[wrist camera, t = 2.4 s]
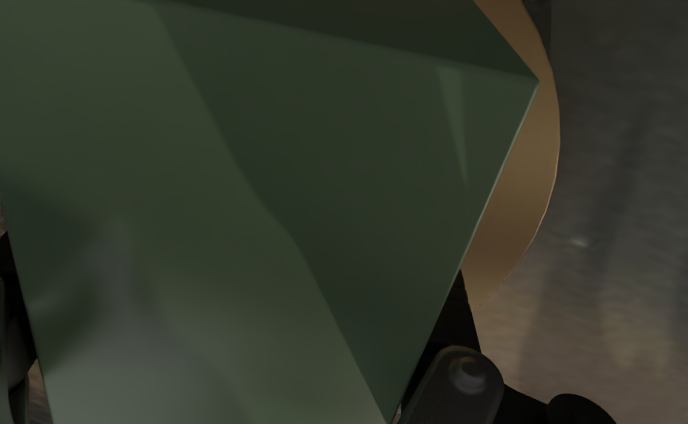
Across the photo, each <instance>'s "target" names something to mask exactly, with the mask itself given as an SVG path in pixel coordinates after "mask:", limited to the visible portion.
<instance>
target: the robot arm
mask: <svg viewBox="0 0 688 424" xmlns="http://www.w3.org/2000/svg"><path fill="white" fill-rule="evenodd" d="M36 359H37V354H36V350H35V346H34V342H33V338H32V333H31V329H30V325H29V321H28V316H27V312H26V308H25V304H24V300H23V295H22V291H21V287H20V283H19V278H18V274H17V270H16V266H15V262H14V257H13V253H12V249H11V245H10V240H9V236H8V232H7V231H6V232H5V233H4V234H3V236H2V237H1V238H0V424H30V416H29V377H28V373H27V372H28V371H29V369H30V368H31V366H32V365H33V363H34V362H35V360H36ZM397 413H400V414H401V417H400V419H399V421H398V423H397V424H616V422H615V421H614V420H613V419H612V417H611V416H610V415H609V414H608V413H607V412H606V411H605V410H603V409H602V408H601V407H600V406H598V405H597V404H596V403H594V402H592V401H591V400H589V399H587V398H584V397H582V396H579V395H575V394H560V395H557V396H555V397H554V398H553V399H552V400H551V401H550V402H549V404H548V405H547V404H545V403H543V402H541V401H538V400H536V399H534V398H531V397H529V396H527V395H525V394H522V393H520V392H518V391H516V390H514V389H512V388H510V387H509V386H507V385H506V384H504V381H503V378H502V375H501V373H500V372H499V370H498V368H497V367H496V366H495V365H494V363H493V362H492V361H491V360H490V359H488V358H487V357H486V356H485V355H483V354H482V353H481V349H480V345H479V341H478V337H477V333H476V329H475V324H474V320H473V316H472V312H471V308H470V304H469V303H468V296H467V291H466V290H465V283H464V279H463V275H462V271H461V269H459V271H458V274H457V276H456V278H455V280H454V283H453V285H452V287H451V290H450V292H449V294H448V296H447V299H446V301H445V303H444V306H443V308H442V310H441V312H440V315H439V317H438V319H437V322H436V324H435V326H434V328H433V331H432V333H431V335H430V337H429V340H428V342H427V344H426V347H425V349H424V351H423V353H422V356H421V358H420V360H419V363H418V365H417V367H416V369H415V372H414V374H413V376H412V378H411V381H410V383H409V385H408V388H407V390H406V392H405V394H404V397H403V399H402V401H401V404H400V406H399V408H398V410H397Z"/></svg>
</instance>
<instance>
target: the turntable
mask: <svg viewBox="0 0 688 424" xmlns="http://www.w3.org/2000/svg"><path fill="white" fill-rule="evenodd" d="M474 2H475V3H476V4H477V5H478V6H479V8H480V9H481V10H482V11H483V12H484V14H485V15H486V16H487V17H488V19H489V20H490V21H491V22H492V23H493V25H494V26H495V27H496V28H497V29H498V31H499V32H500V33H501V34H502V35H503V37H504V38H505V39H506V40H507V41H508V43H509V44H510V45H511V46H512V47H513V49H514V50H515V51H516V52H517V54H518V55H519V56H520V57H521V58H522V60H523V61H524V62H525V63H526V64H527V66H528V67H529V68H530V69H531V70H532V72H533V73H534V74H535V75H536V76H537V78H538V79H539V80H540V87H539V89H538V91H537V94H536V96H535V98H534V100H533V103H532V105H531V107H530V110H529V112H528V114H527V116H526V119H525V121H524V123H523V125H522V128H521V130H520V132H519V135H518V137H517V139H516V141H515V144H514V146H513V148H512V151H511V153H510V155H509V157H508V160H507V162H506V164H505V167H504V169H503V171H502V173H501V176H500V178H499V180H498V182H497V185H496V187H495V189H494V192H493V194H492V196H491V198H490V201H489V203H488V205H487V208H486V210H485V212H484V214H483V217H482V219H481V221H480V223H479V226H478V228H477V230H476V233H475V235H474V237H473V239H472V242H471V244H470V246H469V249H468V251H467V253H466V255H465V258H464V260H463V262H462V265H461V267H460V269H461V271H462V275H463V279H464V283H465V290H466V291H467V296H468V303H469V304H470V308H471V311H472V310H473V309H475V308H476V307H477V306H479V305H480V304H481V303H482V302H483V301H484V300H485V299H486V298H487V297H488V296H490V295H491V294H492V293H493V292H494V291H495V290H496V289H497V288H498V287H499V286H500V285H501V284H502V283H503V282H504V280H505V279H506V278H507V277H508V275H509V274H510V273H511V272H512V270H513V269H514V268H515V267H516V266H517V264H518V263H519V262H520V260H521V259H522V257H523V255H524V254H525V252H526V251H527V249H528V247H529V246H530V244H531V242H532V241H533V239H534V238H535V236H536V233H537V231H538V229H539V227H540V224H541V222H542V220H543V217H544V215H545V213H546V211H547V208H548V205H549V201H550V197H551V194H552V190H553V187H554V183H555V180H556V174H557V166H558V158H559V150H560V113H559V103H558V98H557V93H556V87H555V82H554V76H553V71H552V68H551V65H550V62H549V60H548V57H547V54H546V51H545V48H544V45H543V42H542V40H541V37H540V34H539V32H538V30H537V28H536V26H535V24H534V23H533V21H532V19H531V17H530V15H529V13H528V11H527V9H526V8H525V6H524V4H523V2H522V0H474Z"/></svg>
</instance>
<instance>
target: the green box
mask: <svg viewBox="0 0 688 424" xmlns="http://www.w3.org/2000/svg"><path fill="white" fill-rule="evenodd" d="M539 87H540V80H539V79H538V78H537V76H536V75H535V74H534V73H533V72H532V70H531V69H530V68H529V67H528V66H527V64H526V63H525V62H524V61H523V60H522V58H521V57H520V56H519V55H518V54H517V52H516V51H515V50H514V49H513V47H512V46H511V45H510V44H509V43H508V41H507V40H506V39H505V38H504V37H503V35H502V34H501V33H500V32H499V31H498V29H497V28H496V27H495V26H494V25H493V23H492V22H491V21H490V20H489V19H488V17H487V16H486V15H485V14H484V12H483V11H482V10H481V9H480V8H479V6H478V5H477V4H476V3H475V2H474V0H0V202H1V207H2V211H3V215H4V219H5V224H6V228H7V232H8V236H9V240H10V245H11V249H12V253H13V257H14V262H15V266H16V270H17V274H18V278H19V283H20V287H21V291H22V295H23V300H24V304H25V308H26V312H27V316H28V321H29V325H30V329H31V333H32V338H33V342H34V346H35V350H36V354H37V359H38V363H39V367H40V371H41V376H42V380H43V384H44V388H45V392H46V397H47V401H48V405H49V409H50V414H51V418H52V422H53V424H392V422H393V420H394V417H395V415H396V413H397V410H398V408H399V406H400V404H401V401H402V399H403V397H404V394H405V392H406V390H407V388H408V385H409V383H410V381H411V378H412V376H413V374H414V372H415V369H416V367H417V365H418V363H419V360H420V358H421V356H422V353H423V351H424V349H425V347H426V344H427V342H428V340H429V337H430V335H431V333H432V331H433V328H434V326H435V324H436V322H437V319H438V317H439V315H440V312H441V310H442V308H443V306H444V303H445V301H446V299H447V296H448V294H449V292H450V290H451V287H452V285H453V283H454V280H455V278H456V276H457V274H458V271H459V269H460V267H461V265H462V262H463V260H464V258H465V255H466V253H467V251H468V249H469V246H470V244H471V242H472V239H473V237H474V235H475V233H476V230H477V228H478V226H479V223H480V221H481V219H482V217H483V214H484V212H485V210H486V208H487V205H488V203H489V201H490V198H491V196H492V194H493V192H494V189H495V187H496V185H497V182H498V180H499V178H500V176H501V173H502V171H503V169H504V167H505V164H506V162H507V160H508V157H509V155H510V153H511V151H512V148H513V146H514V144H515V141H516V139H517V137H518V135H519V132H520V130H521V128H522V125H523V123H524V121H525V119H526V116H527V114H528V112H529V110H530V107H531V105H532V103H533V100H534V98H535V96H536V94H537V91H538V89H539Z"/></svg>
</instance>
